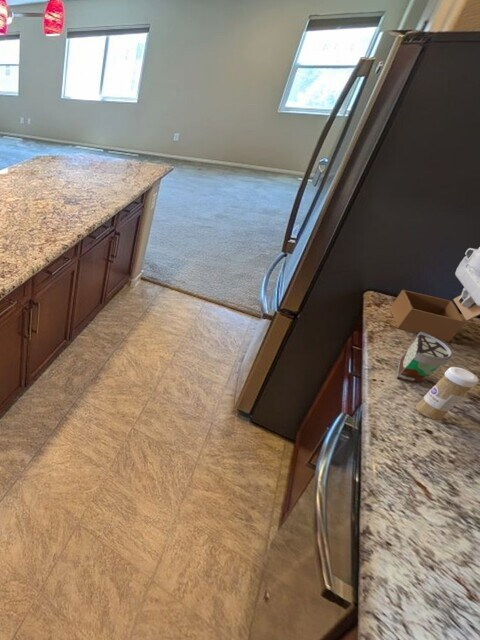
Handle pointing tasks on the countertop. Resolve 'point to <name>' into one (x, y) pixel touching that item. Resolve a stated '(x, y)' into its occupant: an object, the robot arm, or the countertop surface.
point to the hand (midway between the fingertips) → (463, 304)
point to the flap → (468, 309)
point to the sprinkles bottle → (446, 393)
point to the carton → (426, 315)
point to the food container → (422, 358)
